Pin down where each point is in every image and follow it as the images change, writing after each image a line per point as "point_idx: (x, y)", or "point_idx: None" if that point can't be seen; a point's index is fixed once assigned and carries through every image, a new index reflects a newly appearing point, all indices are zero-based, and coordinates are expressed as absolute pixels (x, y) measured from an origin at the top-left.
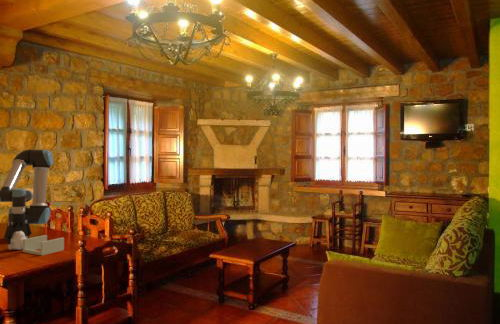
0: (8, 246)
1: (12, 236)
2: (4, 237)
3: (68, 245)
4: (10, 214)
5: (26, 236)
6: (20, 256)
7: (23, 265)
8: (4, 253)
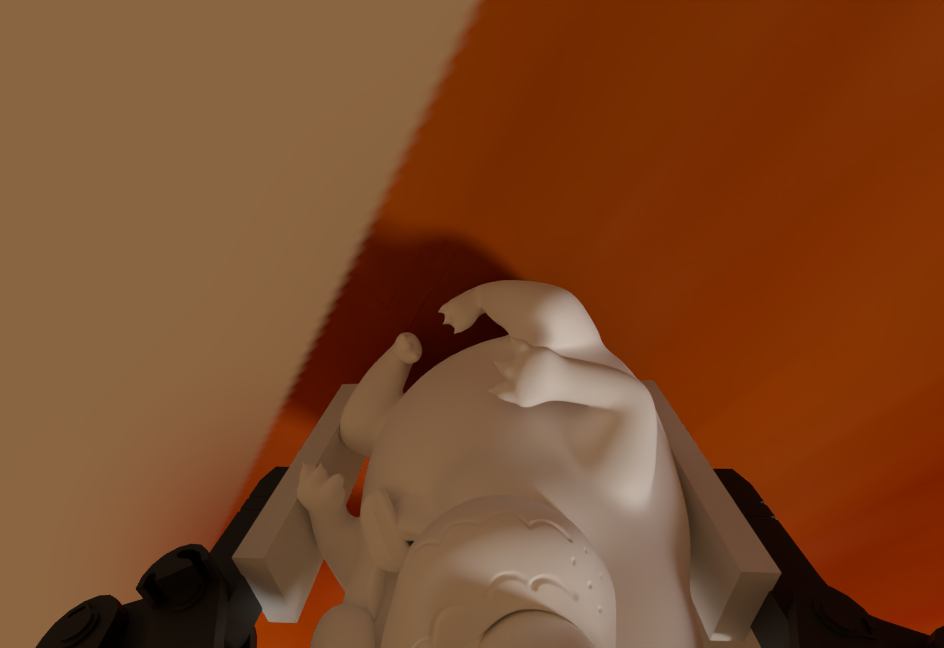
0: (327, 417)
1: (311, 645)
2: (62, 635)
3: (919, 631)
4: None
5: (707, 628)
6: (336, 598)
7: None
8: (271, 426)
